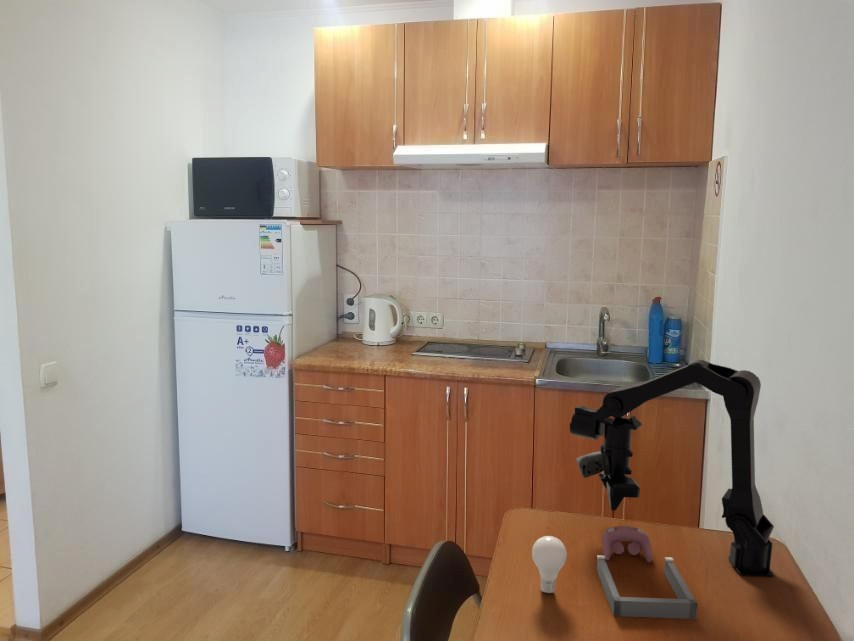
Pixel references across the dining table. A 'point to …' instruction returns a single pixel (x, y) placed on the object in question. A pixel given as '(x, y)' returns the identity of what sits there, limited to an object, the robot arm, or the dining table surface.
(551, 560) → the lightbulb
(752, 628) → the dining table surface
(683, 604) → the pocket
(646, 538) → the video game controller
